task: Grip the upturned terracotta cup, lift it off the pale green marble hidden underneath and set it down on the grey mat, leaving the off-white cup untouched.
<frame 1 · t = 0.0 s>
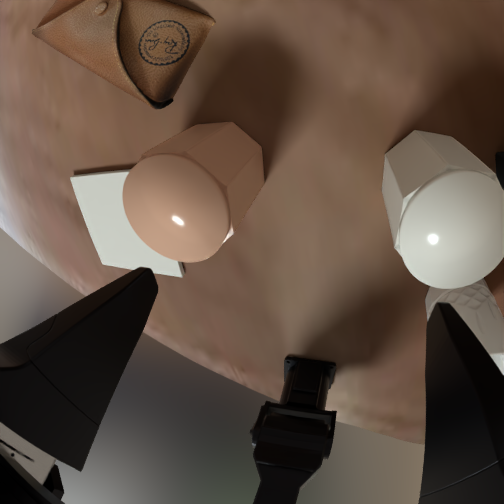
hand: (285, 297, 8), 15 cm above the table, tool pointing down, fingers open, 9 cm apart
white cup: (455, 292, 23), on the table
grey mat: (125, 223, 29), on the table
sunglasses case: (120, 23, 17), on the table
off-white cup: (427, 178, 18), on the table
terracotta cup: (220, 165, 23), on the table
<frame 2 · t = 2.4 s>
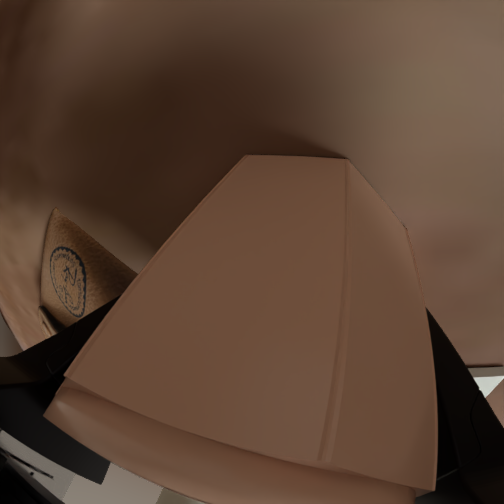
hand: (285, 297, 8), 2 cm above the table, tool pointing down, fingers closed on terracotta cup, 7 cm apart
travel mug: (206, 454, 36), on the table
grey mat: (381, 415, 15), on the table
sunglasses case: (89, 309, 19), on the table
terracotta cup: (296, 255, 10), on the table, touching gripper
when the fingers open (4 cm above the table, at t = 7.5 s): terracotta cup drops 1 cm, resting on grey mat.
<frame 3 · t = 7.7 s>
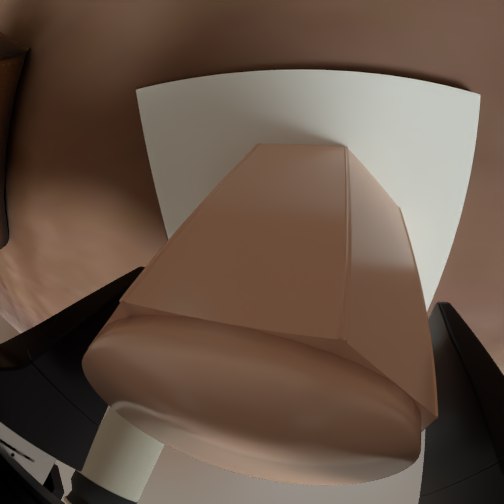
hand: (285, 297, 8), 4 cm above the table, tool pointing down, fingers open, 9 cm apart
travel mug: (149, 402, 32), on the table
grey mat: (304, 226, 12), on the table
terracotta cup: (302, 234, 11), point 1 cm above the table, touching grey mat
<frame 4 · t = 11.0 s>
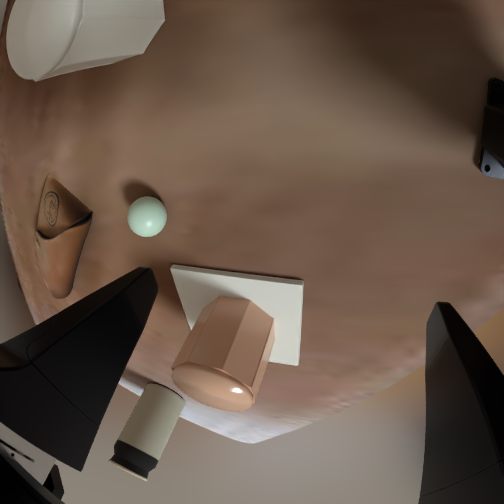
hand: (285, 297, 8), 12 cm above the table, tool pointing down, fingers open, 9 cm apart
travel mug: (166, 392, 50), on the table
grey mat: (240, 318, 29), on the table
sunglasses case: (63, 236, 31), on the table
pale green marble: (146, 216, 22), on the table
off-white cup: (123, 17, 14), on the table
terracotta cup: (239, 323, 28), point 1 cm above the table, touching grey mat
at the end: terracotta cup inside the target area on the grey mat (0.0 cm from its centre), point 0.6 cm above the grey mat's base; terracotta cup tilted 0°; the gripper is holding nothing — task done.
